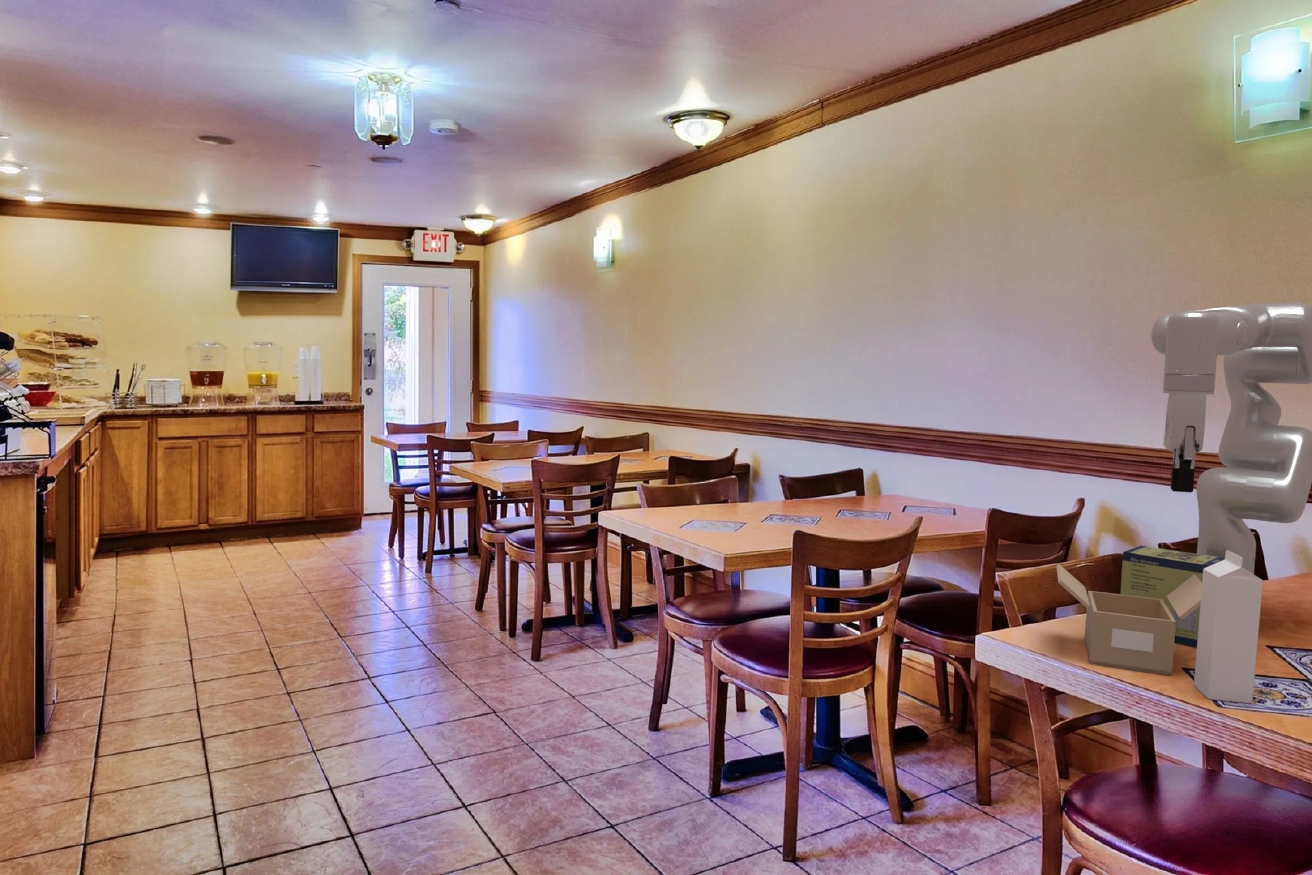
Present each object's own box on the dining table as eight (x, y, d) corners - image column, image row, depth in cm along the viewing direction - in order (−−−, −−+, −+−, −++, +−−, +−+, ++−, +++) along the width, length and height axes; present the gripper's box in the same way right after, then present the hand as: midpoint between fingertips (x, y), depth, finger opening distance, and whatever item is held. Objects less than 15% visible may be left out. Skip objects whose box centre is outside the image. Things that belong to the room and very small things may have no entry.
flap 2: (1166, 596, 155) (1194, 574, 153) (1169, 598, 155) (1196, 576, 153) (1179, 616, 141) (1209, 592, 139) (1182, 619, 141) (1212, 595, 139)
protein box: (1133, 620, 174) (1139, 544, 173) (1223, 639, 163) (1230, 558, 162) (1115, 630, 167) (1121, 550, 166) (1208, 651, 156) (1215, 565, 155)
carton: (1084, 638, 161) (1087, 590, 160) (1158, 648, 156) (1162, 599, 156) (1089, 664, 146) (1093, 611, 146) (1171, 676, 142) (1176, 621, 141)
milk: (1235, 690, 136) (1248, 551, 134) (1252, 704, 130) (1266, 559, 129) (1192, 685, 137) (1204, 548, 136) (1207, 699, 132) (1220, 555, 130)
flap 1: (1082, 589, 160) (1056, 565, 162) (1085, 587, 160) (1058, 563, 162) (1087, 608, 147) (1058, 582, 148) (1089, 605, 146) (1061, 580, 148)
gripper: (1158, 383, 157) (1152, 483, 159) (1169, 386, 143) (1161, 496, 145) (1207, 384, 154) (1200, 486, 156) (1222, 387, 140) (1214, 499, 142)
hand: (1181, 491), depth 150 cm, fingers closed
